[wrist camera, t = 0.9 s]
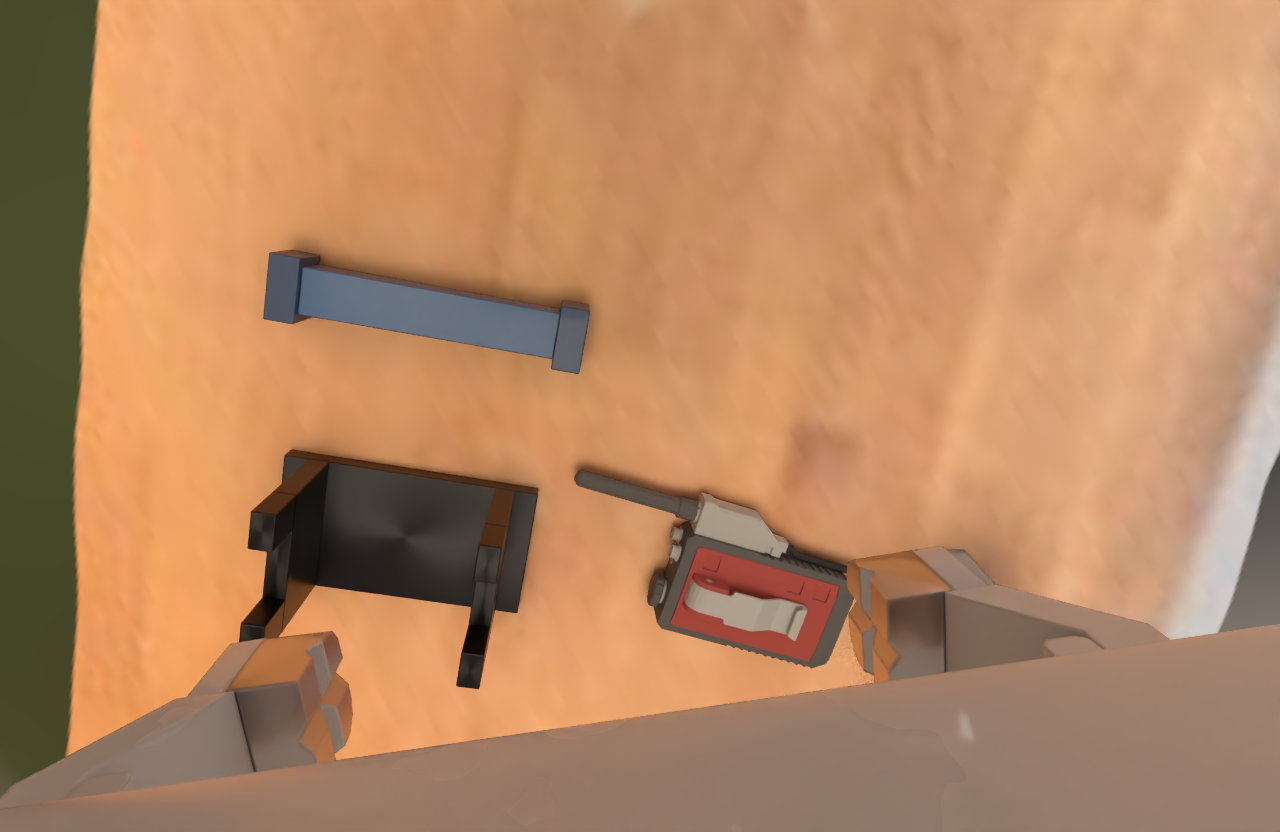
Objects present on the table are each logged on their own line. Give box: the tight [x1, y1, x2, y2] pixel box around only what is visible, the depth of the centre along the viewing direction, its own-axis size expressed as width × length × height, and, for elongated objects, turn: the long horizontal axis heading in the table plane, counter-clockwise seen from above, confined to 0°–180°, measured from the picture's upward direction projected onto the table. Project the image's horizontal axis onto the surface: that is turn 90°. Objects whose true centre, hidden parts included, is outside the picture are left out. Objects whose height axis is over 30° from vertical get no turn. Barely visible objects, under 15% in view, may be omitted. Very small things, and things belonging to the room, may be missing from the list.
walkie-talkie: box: [574, 470, 854, 668], centre depth 51 cm, size 9×4×20 cm
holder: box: [239, 450, 538, 689], centre depth 46 cm, size 8×15×10 cm, turn 79°
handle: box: [263, 250, 590, 374], centre depth 47 cm, size 4×17×4 cm, turn 79°
